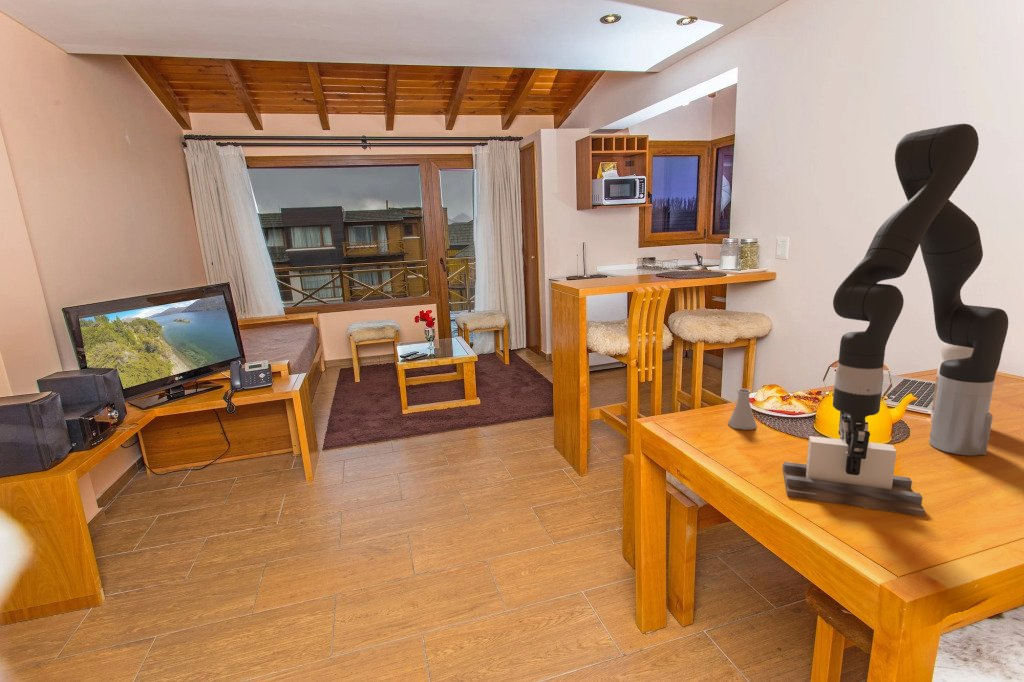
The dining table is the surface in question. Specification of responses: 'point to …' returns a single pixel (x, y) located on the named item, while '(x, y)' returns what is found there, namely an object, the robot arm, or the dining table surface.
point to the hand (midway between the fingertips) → (849, 466)
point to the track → (854, 499)
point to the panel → (831, 463)
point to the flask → (742, 412)
